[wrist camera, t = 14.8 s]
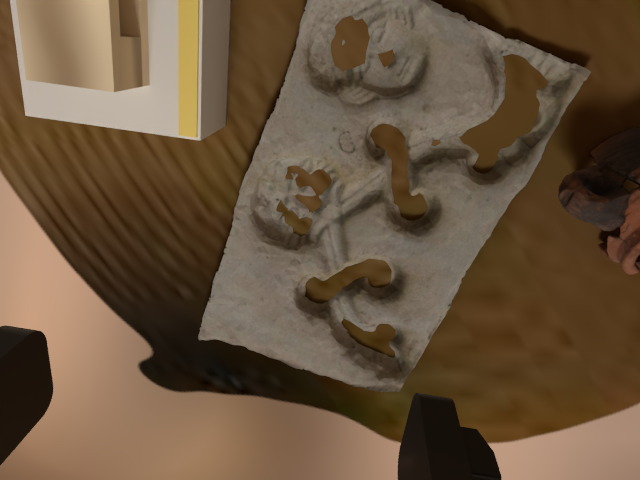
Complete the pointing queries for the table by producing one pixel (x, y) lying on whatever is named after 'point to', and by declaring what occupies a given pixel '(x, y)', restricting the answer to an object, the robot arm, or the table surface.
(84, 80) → the tan long block
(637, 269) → the pottery mug
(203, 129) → the white rectangular box
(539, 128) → the stone relief
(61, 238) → the table surface
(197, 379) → the table surface
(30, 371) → the robot arm
